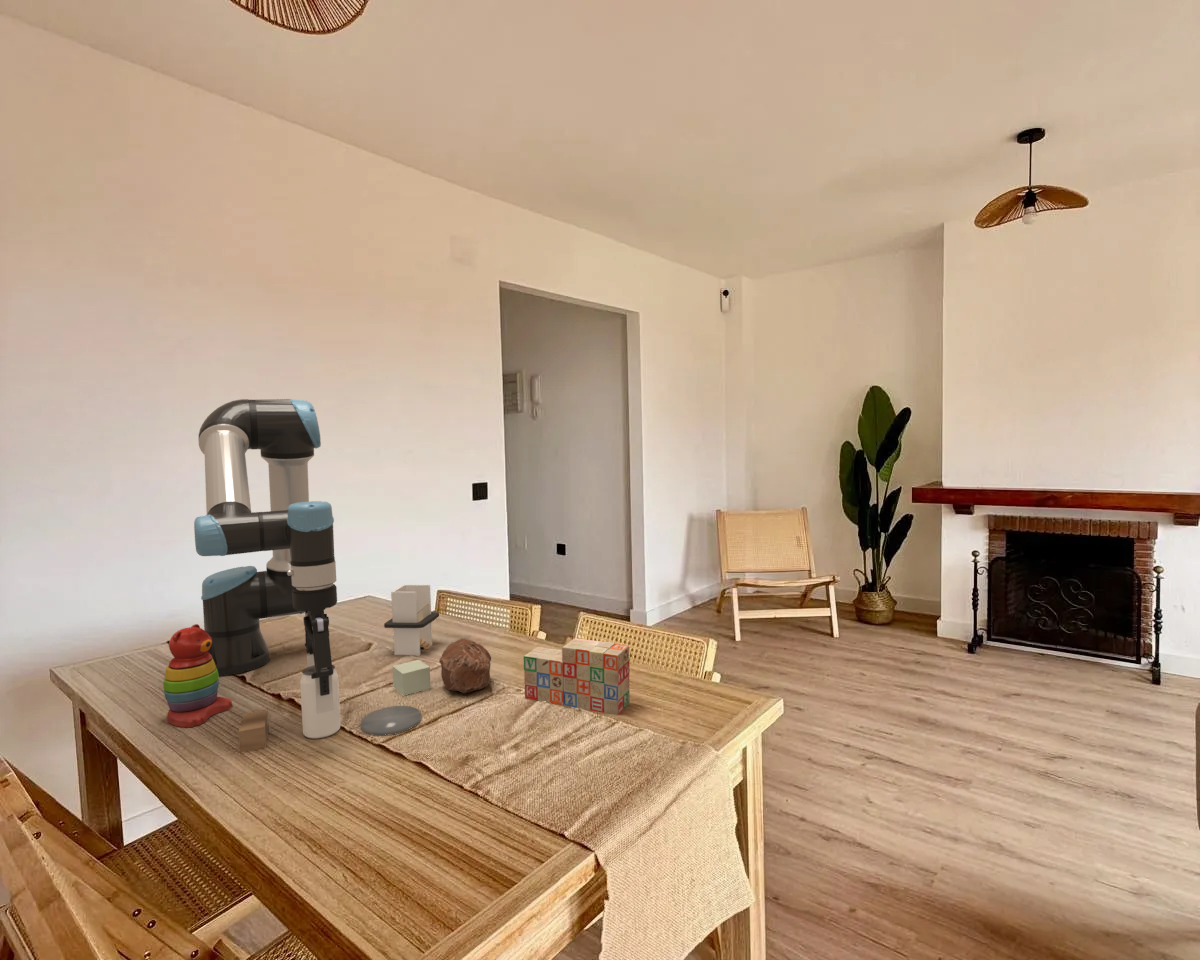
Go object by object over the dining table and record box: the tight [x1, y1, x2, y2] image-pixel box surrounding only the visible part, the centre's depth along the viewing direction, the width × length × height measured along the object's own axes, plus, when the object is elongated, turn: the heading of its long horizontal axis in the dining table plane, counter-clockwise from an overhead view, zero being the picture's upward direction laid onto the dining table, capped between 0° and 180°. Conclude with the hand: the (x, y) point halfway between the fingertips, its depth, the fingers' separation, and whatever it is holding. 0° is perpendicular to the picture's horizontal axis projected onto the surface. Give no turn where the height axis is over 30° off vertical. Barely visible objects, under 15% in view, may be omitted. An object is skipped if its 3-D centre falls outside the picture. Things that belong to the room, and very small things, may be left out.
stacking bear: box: [162, 623, 233, 728], centre depth 127 cm, size 11×10×18 cm
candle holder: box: [383, 584, 440, 656], centre depth 163 cm, size 25×24×16 cm
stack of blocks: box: [523, 637, 631, 716], centre depth 130 cm, size 21×6×12 cm, turn 66°
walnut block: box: [238, 709, 270, 753], centre depth 116 cm, size 8×4×4 cm, turn 23°
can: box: [299, 664, 341, 740], centre depth 119 cm, size 6×6×12 cm
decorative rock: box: [439, 637, 492, 694], centre depth 139 cm, size 13×11×10 cm
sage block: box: [392, 659, 431, 696], centre depth 139 cm, size 6×6×5 cm
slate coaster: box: [360, 705, 422, 736], centre depth 123 cm, size 11×11×1 cm
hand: (320, 698), depth 119 cm, fingers open, 13 cm apart
